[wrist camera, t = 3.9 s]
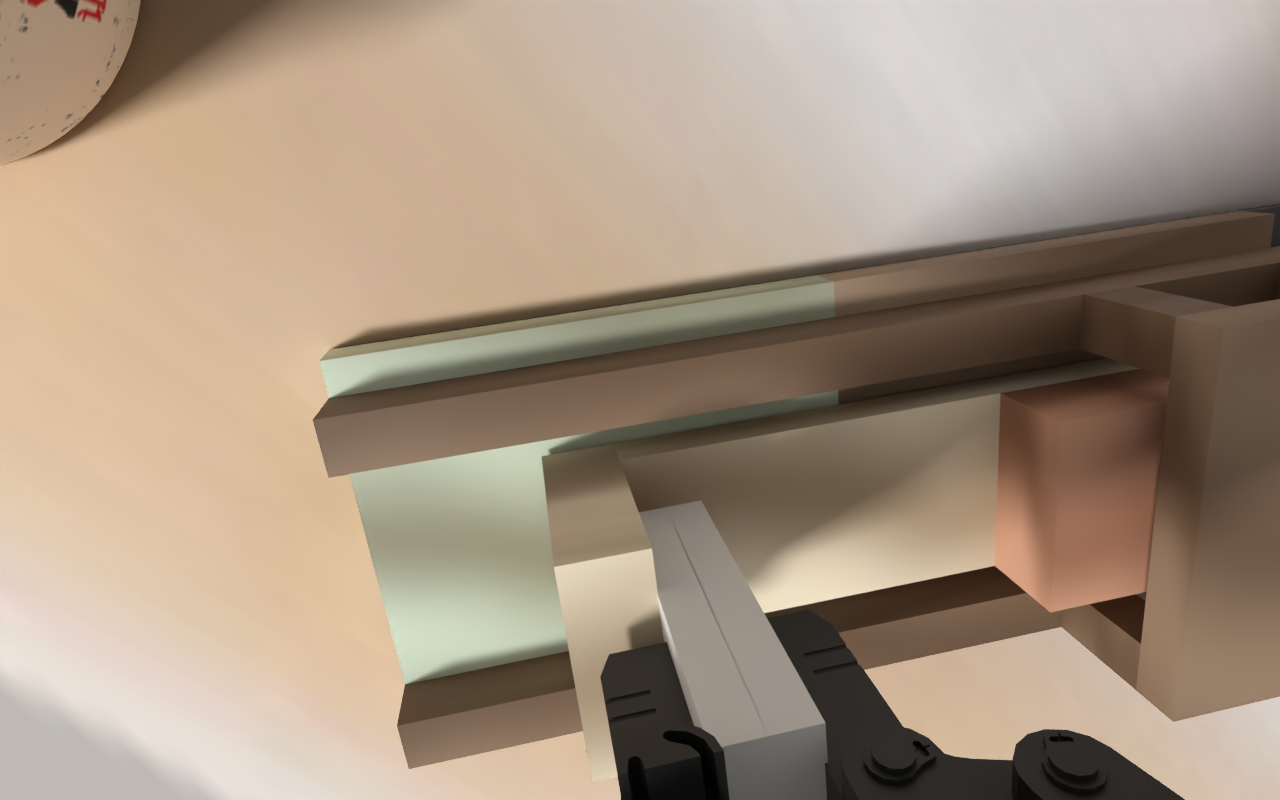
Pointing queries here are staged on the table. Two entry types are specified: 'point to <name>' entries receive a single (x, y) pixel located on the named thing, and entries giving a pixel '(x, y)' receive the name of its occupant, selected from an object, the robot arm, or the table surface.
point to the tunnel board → (808, 379)
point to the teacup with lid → (57, 66)
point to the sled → (869, 504)
